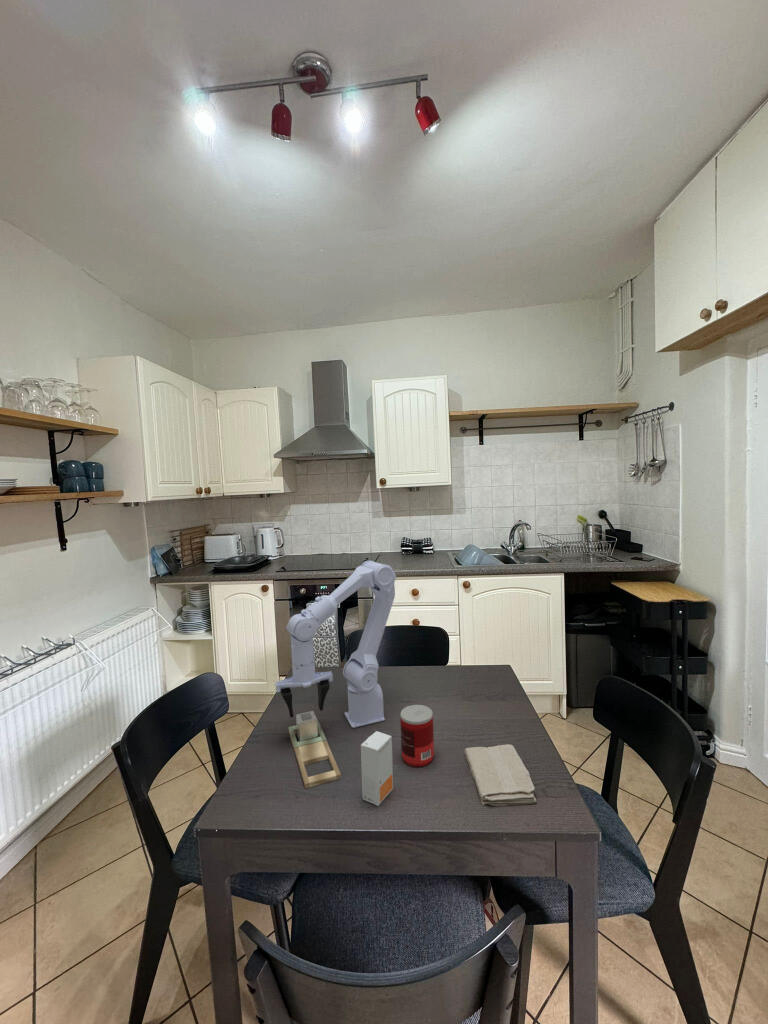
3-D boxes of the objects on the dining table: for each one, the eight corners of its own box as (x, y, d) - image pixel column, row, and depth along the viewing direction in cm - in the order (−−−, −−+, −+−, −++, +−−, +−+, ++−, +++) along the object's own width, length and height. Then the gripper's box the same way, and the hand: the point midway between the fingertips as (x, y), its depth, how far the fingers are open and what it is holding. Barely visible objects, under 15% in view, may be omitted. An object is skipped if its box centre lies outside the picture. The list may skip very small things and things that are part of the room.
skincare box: (379, 807, 89) (376, 750, 88) (361, 799, 91) (359, 744, 90) (394, 789, 94) (392, 735, 93) (377, 782, 96) (375, 730, 95)
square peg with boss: (314, 732, 116) (313, 709, 116) (317, 741, 112) (316, 717, 112) (297, 736, 115) (296, 713, 114) (300, 746, 111) (299, 722, 110)
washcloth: (482, 810, 87) (482, 796, 87) (462, 755, 105) (462, 742, 105) (540, 806, 88) (540, 791, 88) (510, 751, 106) (510, 739, 106)
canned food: (437, 750, 107) (435, 706, 106) (429, 770, 99) (428, 724, 99) (407, 744, 109) (405, 702, 109) (397, 764, 102) (396, 719, 101)
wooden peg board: (318, 724, 120) (317, 720, 120) (340, 778, 98) (340, 773, 98) (288, 731, 117) (288, 726, 117) (305, 788, 95) (305, 783, 95)
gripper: (276, 672, 106) (279, 726, 107) (334, 662, 111) (337, 713, 112) (273, 662, 113) (276, 712, 114) (328, 652, 118) (330, 700, 119)
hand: (306, 712), depth 114 cm, fingers open, 7 cm apart
